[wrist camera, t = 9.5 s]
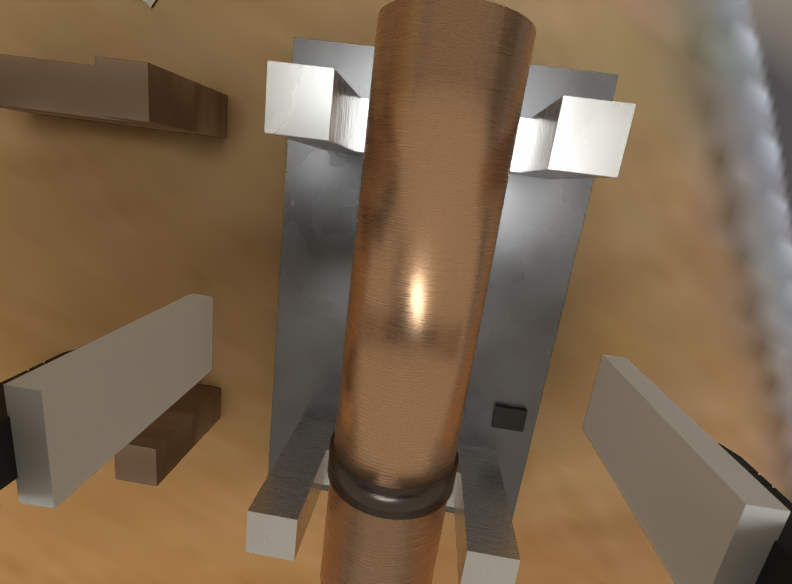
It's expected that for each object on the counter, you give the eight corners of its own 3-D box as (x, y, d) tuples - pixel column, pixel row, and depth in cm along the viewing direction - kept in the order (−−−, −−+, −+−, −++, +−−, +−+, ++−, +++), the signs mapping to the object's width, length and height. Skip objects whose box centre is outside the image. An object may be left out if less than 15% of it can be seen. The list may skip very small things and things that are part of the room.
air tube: (383, 45, 16) (360, -17, 11) (522, 61, 16) (563, 5, 11) (332, 517, 22) (301, 619, 17) (434, 535, 22) (434, 644, 17)
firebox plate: (304, 48, 20) (213, -44, 12) (605, 82, 19) (728, 9, 11) (277, 463, 26) (204, 592, 18) (507, 503, 25) (540, 657, 17)
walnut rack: (25, 70, 22) (-125, 29, 16) (227, 95, 21) (147, 62, 15) (54, 389, 26) (-55, 448, 21) (219, 417, 26) (156, 486, 20)
